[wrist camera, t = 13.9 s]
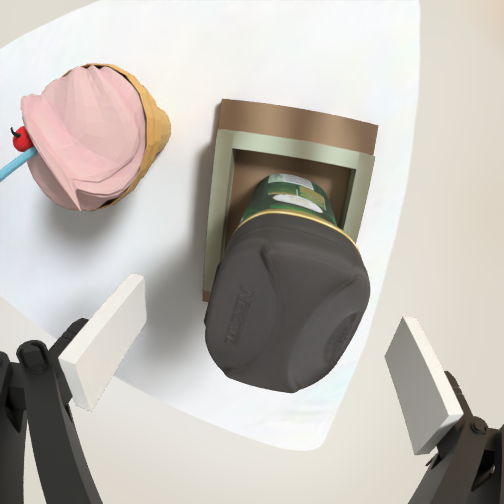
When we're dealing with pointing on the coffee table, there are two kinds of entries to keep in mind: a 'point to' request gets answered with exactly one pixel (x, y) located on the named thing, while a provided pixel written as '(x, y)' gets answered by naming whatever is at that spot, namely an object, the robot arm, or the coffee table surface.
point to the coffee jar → (285, 289)
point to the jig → (284, 165)
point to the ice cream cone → (89, 136)
